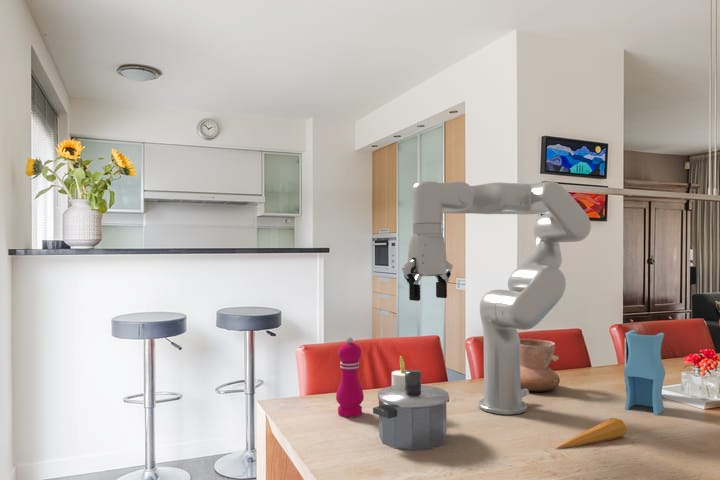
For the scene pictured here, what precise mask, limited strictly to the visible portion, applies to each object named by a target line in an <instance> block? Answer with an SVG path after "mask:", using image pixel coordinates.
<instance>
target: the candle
mask: <svg viewBox="0 0 720 480" xmlns="http://www.w3.org/2000/svg"><path fill="white" fill-rule="evenodd" d="M399 369H400V370H394V371H391V386H395V385H405V371H406V370H407V369H406V367H405V360H404V358H403V356H402V355H400V356H399Z"/></svg>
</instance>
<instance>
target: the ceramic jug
mask: <svg viewBox="0 0 720 480" xmlns="http://www.w3.org/2000/svg"><path fill="white" fill-rule="evenodd" d="M519 339H520V374H521V389H525V388H526V389H528V390H529V392H536V393H540V392H547V391H551V390H554V389H556V388H557V387H558V386H559V384H560V383H561V382H560V381H561V379H560V376H559V375H558V373H556V372H555V370H553V369H551V368H550V367H549V365H550V364H551V361H554V362H557V360H560V358H559V356H557V355H554V353H555V349H556V343H555V342H553V341H550V340H544V339H543V340H542V339H532V338H519Z"/></svg>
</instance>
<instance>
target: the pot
mask: <svg viewBox="0 0 720 480" xmlns="http://www.w3.org/2000/svg"><path fill="white" fill-rule="evenodd" d="M449 402H450V399H449V400H448V402H447V403H449ZM447 403H445V404H443V405H441V406H437V407H431V408H420V409H412V408H400V407H394V406H390V405H387V404H384V403H382V402H380V401H379V400H378V406H375V407H372V413H373V414H374V415H377V416H378V437H379V439H380V440H381V442H382V444H384V445H387V446H389V447H392V448H394V449H399V450H407V451H421V450H422V451H425V450H432V449H435V448H437V447H441V446H443V445H444V444H445V442H446V441H447V438H448V437H447V435H448V434H447V433H448V431H447V427H448V425H447Z"/></svg>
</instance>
